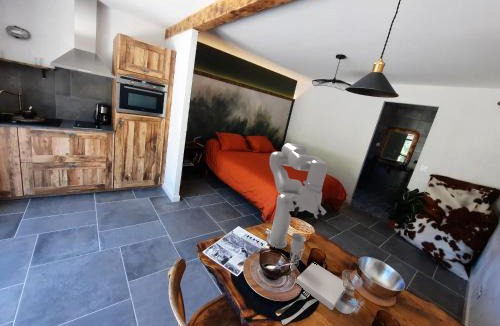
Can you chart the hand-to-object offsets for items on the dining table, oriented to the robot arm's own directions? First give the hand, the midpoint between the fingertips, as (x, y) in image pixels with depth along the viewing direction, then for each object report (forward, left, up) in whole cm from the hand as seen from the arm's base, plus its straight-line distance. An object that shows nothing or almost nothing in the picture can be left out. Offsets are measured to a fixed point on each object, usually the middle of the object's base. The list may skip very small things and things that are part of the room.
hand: (304, 219), depth 104 cm
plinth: (+16, +2, -28) cm, 33 cm away
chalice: (0, 0, -29) cm, 29 cm away
